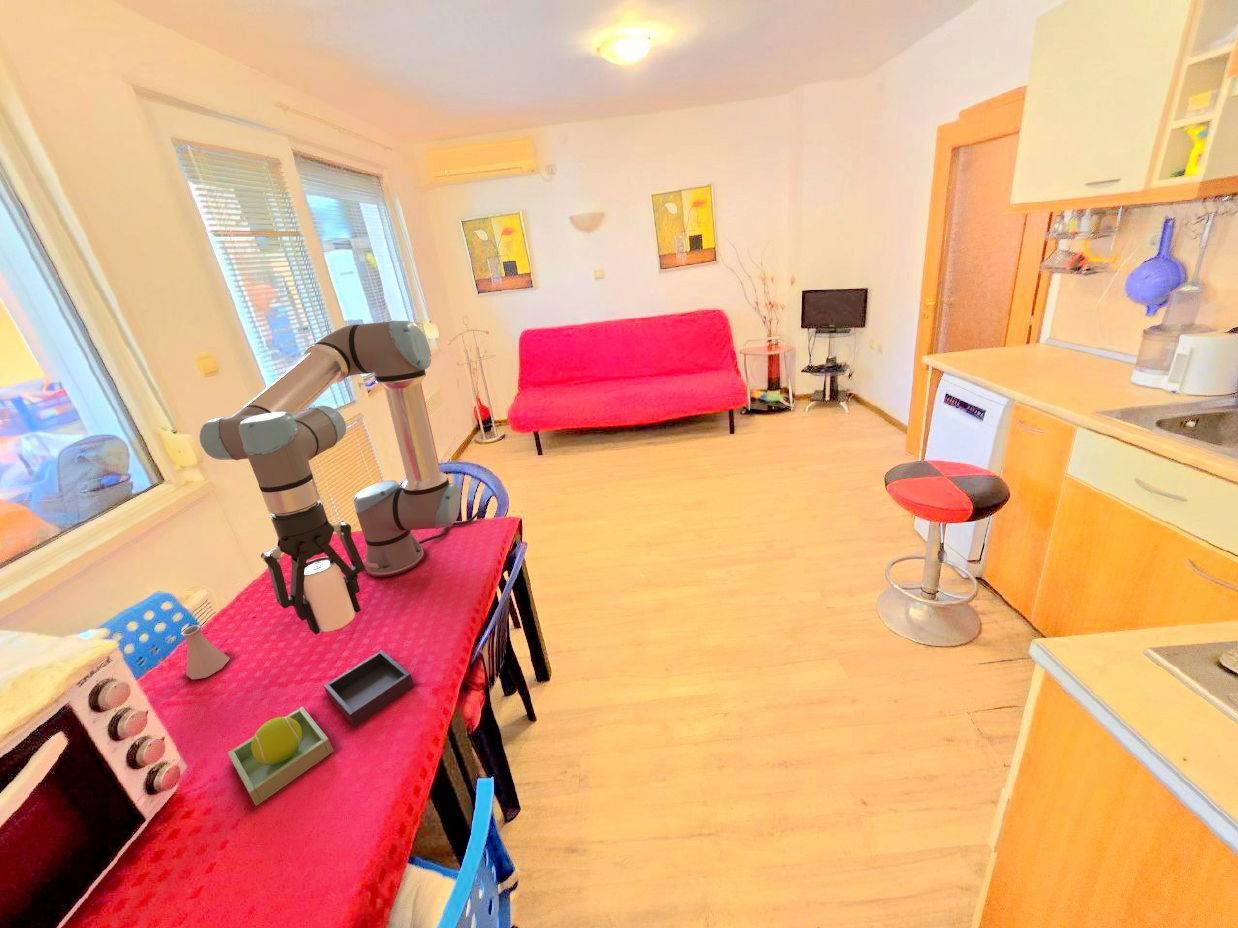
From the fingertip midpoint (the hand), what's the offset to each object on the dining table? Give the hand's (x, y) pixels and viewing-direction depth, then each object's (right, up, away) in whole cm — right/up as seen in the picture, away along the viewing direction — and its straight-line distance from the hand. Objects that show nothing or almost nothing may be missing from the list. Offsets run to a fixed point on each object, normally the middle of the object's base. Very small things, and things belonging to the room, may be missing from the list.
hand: (335, 619), depth 92 cm
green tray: (-5, -21, -7) cm, 23 cm away
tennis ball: (-5, -21, -7) cm, 23 cm away
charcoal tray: (+4, -16, +6) cm, 17 cm away
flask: (-36, -15, +16) cm, 42 cm away
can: (0, -1, 0) cm, 1 cm away
